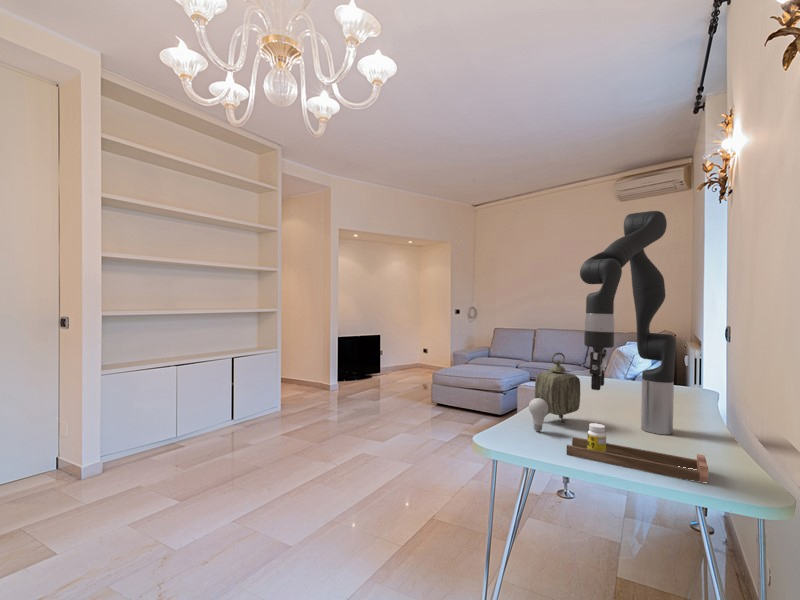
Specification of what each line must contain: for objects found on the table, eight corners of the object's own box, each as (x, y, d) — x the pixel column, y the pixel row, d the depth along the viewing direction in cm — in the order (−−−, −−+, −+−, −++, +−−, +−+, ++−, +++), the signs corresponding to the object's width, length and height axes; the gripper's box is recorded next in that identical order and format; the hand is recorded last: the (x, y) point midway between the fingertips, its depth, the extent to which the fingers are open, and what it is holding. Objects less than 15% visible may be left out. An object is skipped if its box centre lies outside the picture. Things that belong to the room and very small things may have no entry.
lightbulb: (549, 435, 130) (549, 401, 131) (529, 433, 132) (530, 399, 132) (546, 429, 136) (546, 397, 137) (527, 428, 138) (528, 395, 138)
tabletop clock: (560, 416, 154) (561, 350, 154) (581, 423, 146) (583, 353, 146) (533, 421, 146) (535, 352, 146) (555, 428, 138) (556, 355, 139)
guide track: (572, 445, 122) (573, 431, 122) (704, 470, 104) (704, 455, 105) (566, 454, 113) (566, 440, 113) (707, 484, 96) (708, 467, 96)
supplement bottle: (583, 452, 116) (584, 422, 116) (599, 452, 116) (600, 422, 116) (593, 458, 111) (593, 427, 111) (609, 458, 112) (610, 427, 112)
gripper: (611, 331, 106) (610, 393, 106) (616, 329, 118) (615, 385, 118) (580, 329, 110) (579, 389, 110) (588, 328, 122) (587, 382, 122)
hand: (597, 387), depth 114 cm, fingers open, 8 cm apart
